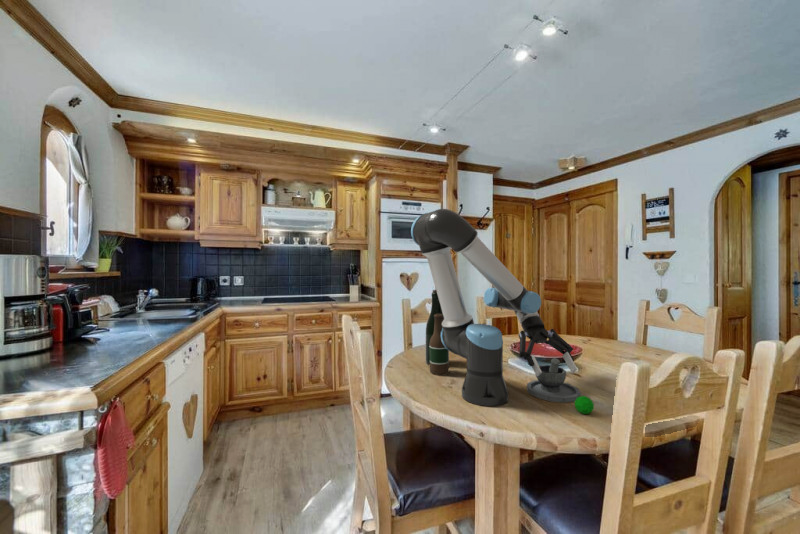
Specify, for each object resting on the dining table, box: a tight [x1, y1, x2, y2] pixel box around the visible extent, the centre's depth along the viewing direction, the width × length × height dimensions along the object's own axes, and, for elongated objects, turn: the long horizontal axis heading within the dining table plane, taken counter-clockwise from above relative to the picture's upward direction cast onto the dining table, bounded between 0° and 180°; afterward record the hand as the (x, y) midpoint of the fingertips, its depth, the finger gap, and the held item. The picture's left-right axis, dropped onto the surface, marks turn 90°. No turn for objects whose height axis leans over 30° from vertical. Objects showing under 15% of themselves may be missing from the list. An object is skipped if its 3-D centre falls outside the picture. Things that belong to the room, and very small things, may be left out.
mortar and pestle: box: [535, 357, 567, 393], centre depth 115 cm, size 11×9×12 cm
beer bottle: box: [429, 314, 450, 376], centre depth 137 cm, size 8×8×24 cm
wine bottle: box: [424, 289, 444, 366], centre depth 150 cm, size 10×10×33 cm
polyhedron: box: [574, 395, 595, 415], centre depth 99 cm, size 5×5×5 cm
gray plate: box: [526, 379, 582, 403], centre depth 115 cm, size 16×16×2 cm
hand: (557, 372), depth 112 cm, fingers open, 13 cm apart
